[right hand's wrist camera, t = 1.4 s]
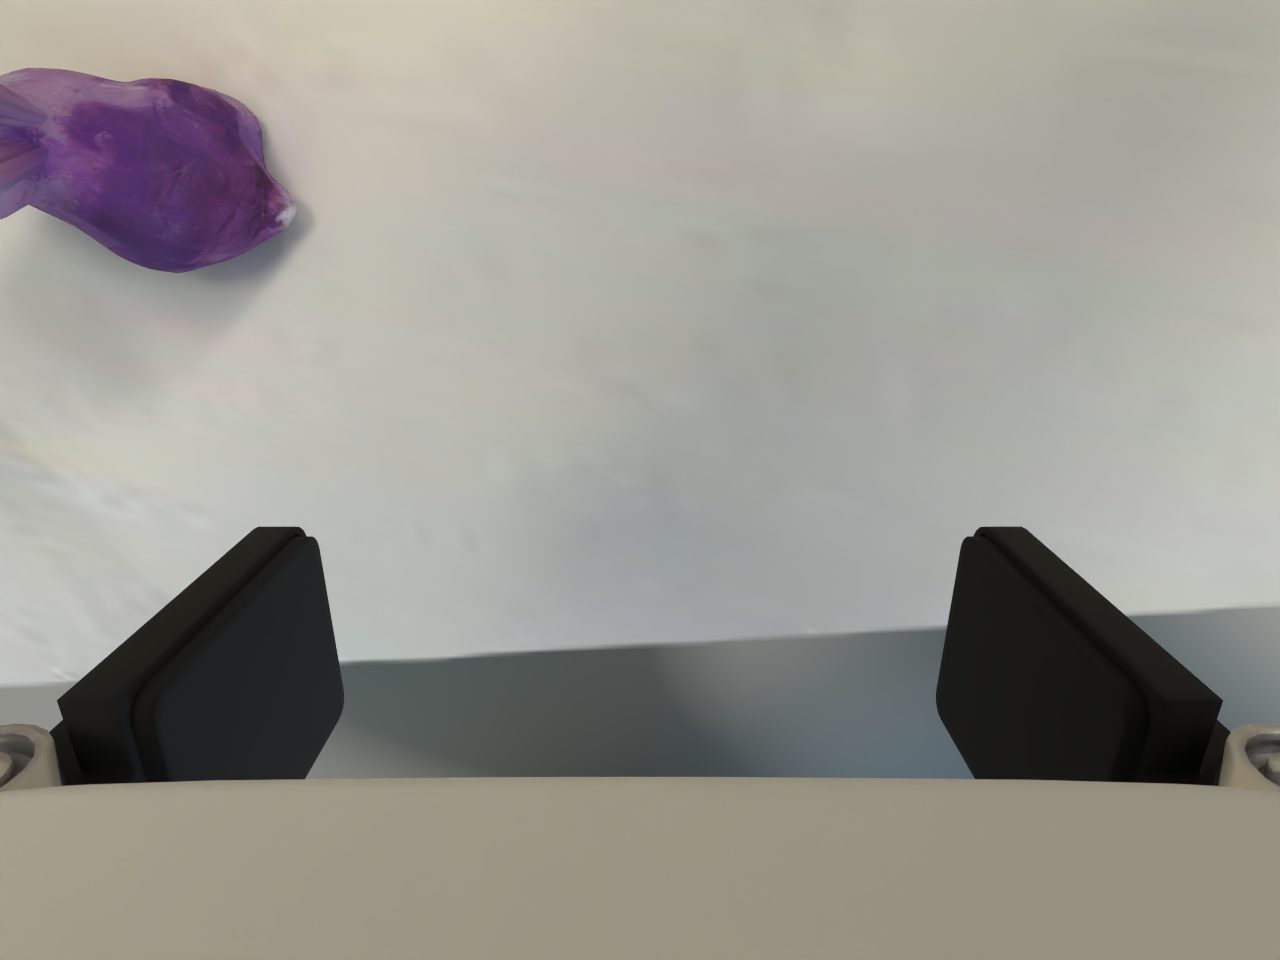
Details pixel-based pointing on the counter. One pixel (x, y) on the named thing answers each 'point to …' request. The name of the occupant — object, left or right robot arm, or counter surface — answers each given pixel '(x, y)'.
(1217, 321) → the counter surface
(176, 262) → the figurine
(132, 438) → the counter surface
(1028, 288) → the counter surface
